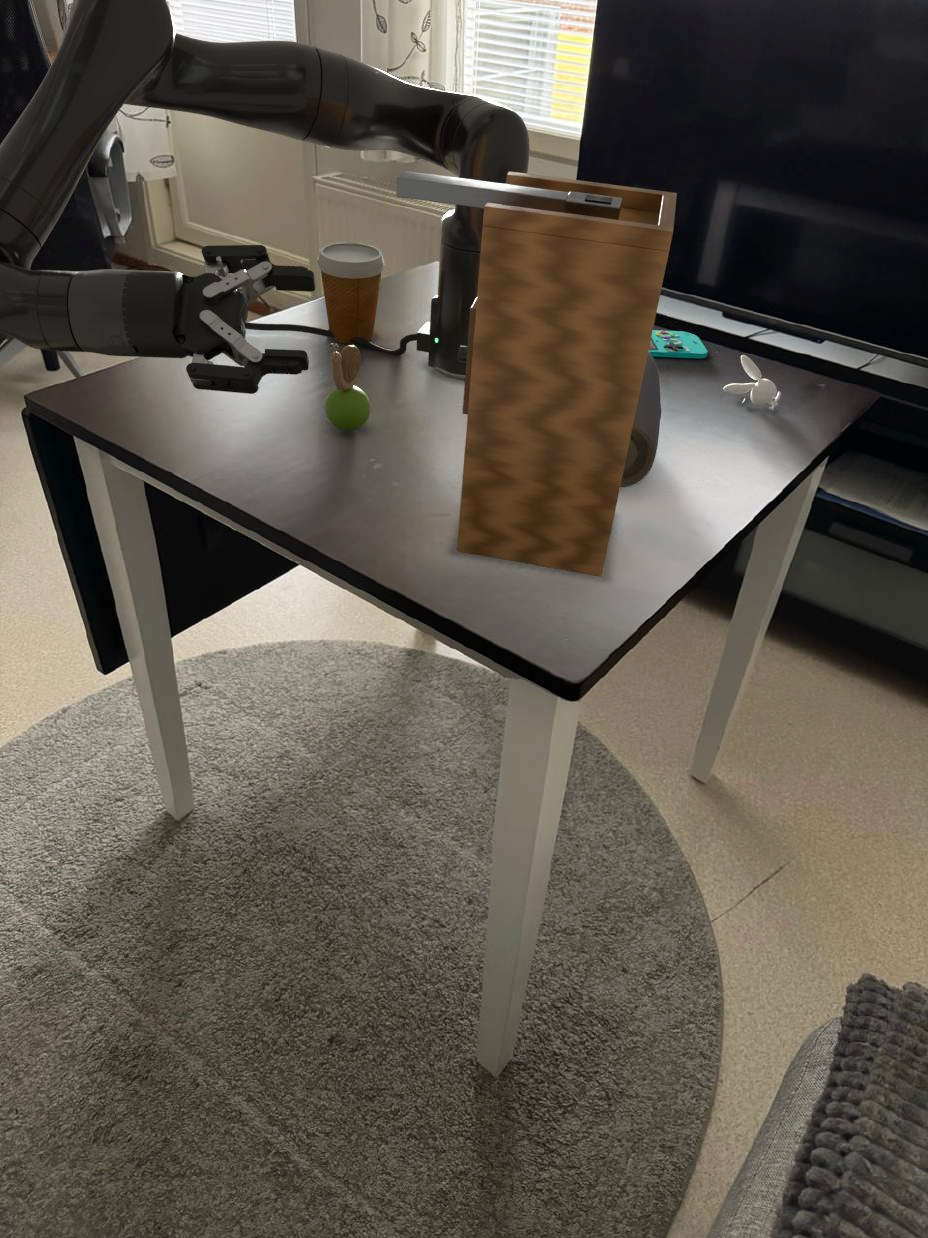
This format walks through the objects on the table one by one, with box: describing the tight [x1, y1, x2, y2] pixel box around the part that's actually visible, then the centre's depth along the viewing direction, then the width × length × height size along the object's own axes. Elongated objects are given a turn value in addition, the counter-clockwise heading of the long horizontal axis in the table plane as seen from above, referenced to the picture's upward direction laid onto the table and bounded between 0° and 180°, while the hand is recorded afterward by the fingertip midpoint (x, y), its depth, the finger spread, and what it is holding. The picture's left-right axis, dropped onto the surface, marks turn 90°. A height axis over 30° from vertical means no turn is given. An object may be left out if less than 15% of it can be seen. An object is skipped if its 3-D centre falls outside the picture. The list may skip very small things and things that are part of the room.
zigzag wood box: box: [456, 171, 678, 577], centre depth 87 cm, size 17×12×34 cm
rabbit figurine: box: [723, 354, 782, 412], centre depth 125 cm, size 6×4×8 cm
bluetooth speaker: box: [620, 351, 662, 489], centre depth 110 cm, size 23×9×10 cm, turn 170°
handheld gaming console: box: [649, 329, 708, 359], centre depth 139 cm, size 8×1×15 cm
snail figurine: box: [324, 342, 371, 432], centre depth 108 cm, size 5×6×12 cm
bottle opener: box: [396, 170, 622, 220], centre depth 78 cm, size 19×3×2 cm, turn 78°
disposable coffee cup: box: [316, 241, 386, 345], centre depth 131 cm, size 10×10×12 cm
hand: (311, 320), depth 84 cm, fingers open, 8 cm apart
